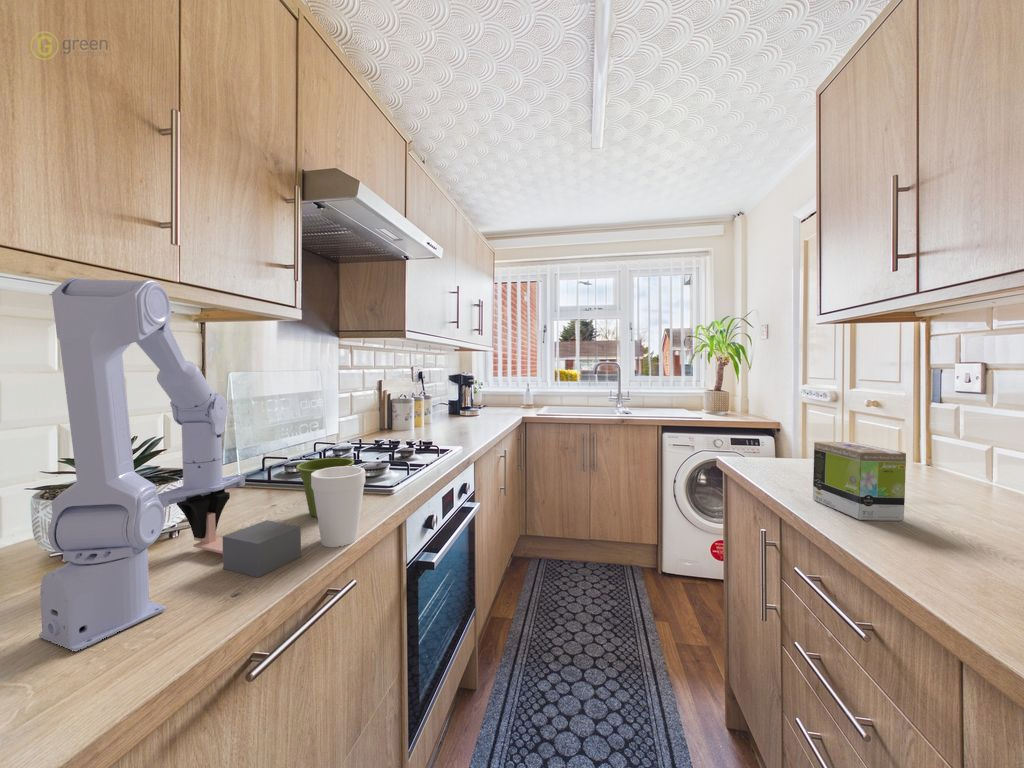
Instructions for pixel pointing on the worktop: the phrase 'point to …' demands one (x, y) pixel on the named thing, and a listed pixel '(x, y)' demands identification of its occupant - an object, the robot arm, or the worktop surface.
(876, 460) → the tea box
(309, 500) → the plant pot
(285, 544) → the grey square box
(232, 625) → the worktop surface
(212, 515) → the pink stepped block
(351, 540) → the foam cup
